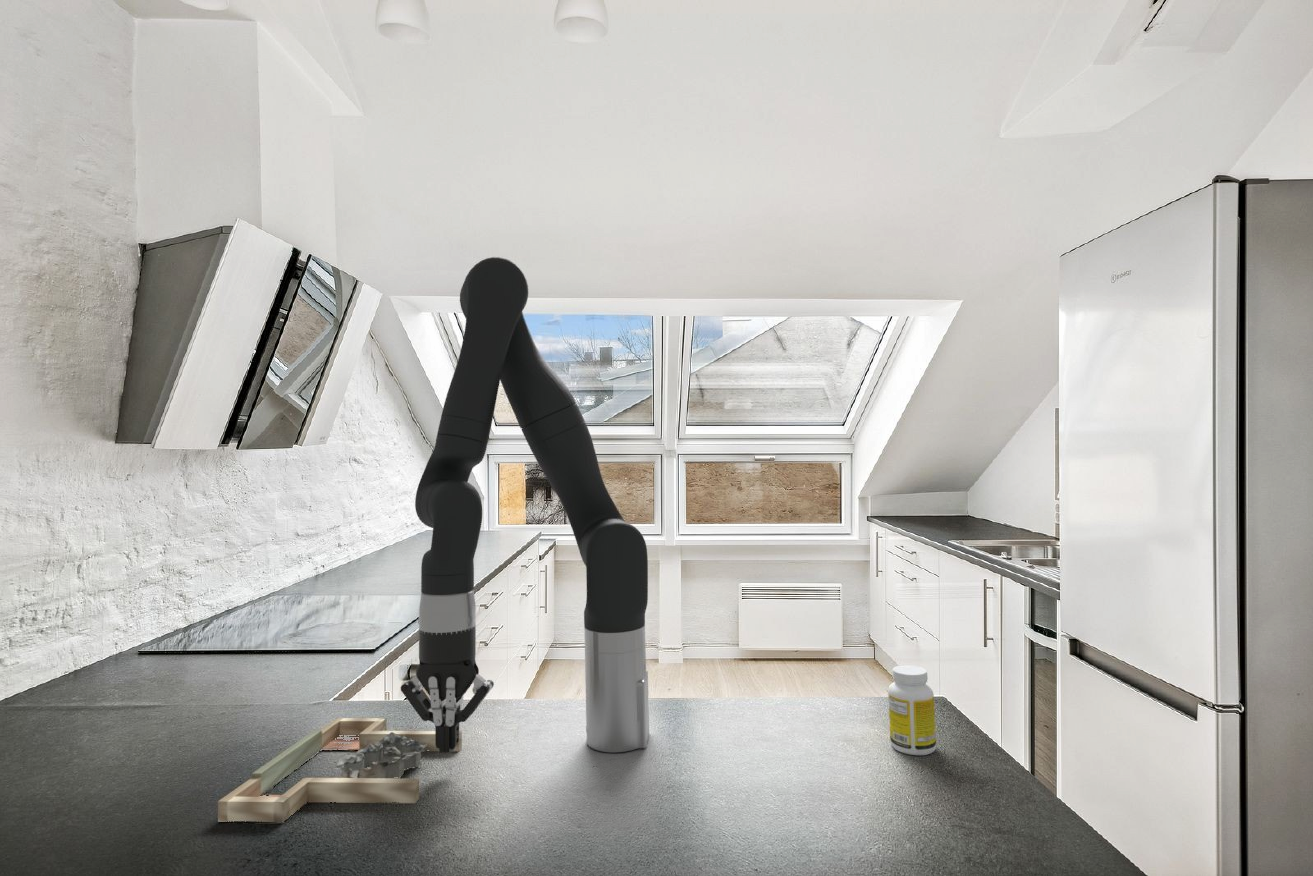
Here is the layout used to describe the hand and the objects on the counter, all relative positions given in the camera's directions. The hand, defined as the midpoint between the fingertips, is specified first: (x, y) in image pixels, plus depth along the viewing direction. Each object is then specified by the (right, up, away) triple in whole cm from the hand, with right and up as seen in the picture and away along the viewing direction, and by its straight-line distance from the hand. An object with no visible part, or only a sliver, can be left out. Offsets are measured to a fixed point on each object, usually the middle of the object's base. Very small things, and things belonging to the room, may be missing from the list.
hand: (447, 750), depth 94 cm
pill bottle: (+66, -2, +4) cm, 66 cm away
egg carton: (-9, -4, 0) cm, 10 cm away
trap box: (-12, -3, 0) cm, 12 cm away
